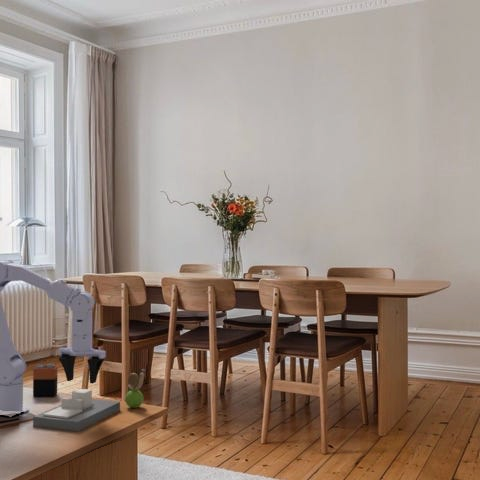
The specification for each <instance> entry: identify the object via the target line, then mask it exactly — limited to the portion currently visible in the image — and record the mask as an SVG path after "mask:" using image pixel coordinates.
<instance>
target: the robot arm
mask: <svg viewBox="0 0 480 480" xmlns="http://www.w3.org/2000/svg"><path fill="white" fill-rule="evenodd" d="M12 281H22V282H24V283H26V284H29V285H31V286H34V287H36V288H38V289H40V290H43V291H44V292H46V294H47V297H48V298H49V299H51V300H53V301H55V302H57V303H59V304H62V305H63V306H65V307H67V308H69V309H70V310H71V312H72V313H71V316H72V317H71V347H59V348H58V350H57V351H58V353H57V354H58V356H59V357H58V360H59V362H60V364H61V366H62V367H63V371H64V373H65V378H66V381H67V382H71V381H74V373H75V371H74V369H75V363H76V362H75V361H76V357H83V358H89V359H87V365H88V370H89V384H94V383H96V382H97V378H98V375H99V371H100V369H101V366H102V365H103V363H104V361H105V359H106V358H107V357H106V354H107V353H106V350H101V349H95V348H93V308H94V306H95V297H94V296H93V295H92V294H91V293H90V292H88V291H86V290H85V291H82V288H79V287H77V288H76V287H74V286H71V285H69V284H68V283H67V280H65V279H62V280H61V279H54V280H50V279H48V278H47V277H44V276H43V275H41V274H39V273H37V272H35V271H34V270H32V269H30V268H28V267H26V266H24V265H22V264H20V263H17V262H14V261H12V260H10V259H3V260H0V294H1V293H2V291H3V290H4V288H5V287H6V286H7V285H8V284H9V283H10V282H12ZM26 370H27V364H26V362H25V359H23V357H22V356H21V355H20V351H19V350H18V349H17V347H15V345H14V342H13V338H12V334H11V330H10V327H9V323H8V320H7V317H6V314H5V310H4V307H3V303H2V299H1V298H0V410H2V411H25V412H24V413H27V412H29V411H30V408H25V407H24V405H23V404H24V378H23V375H24V374H25V372H26Z"/></svg>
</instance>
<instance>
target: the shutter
mask: <svg viewBox="0 0 480 480" xmlns="http://www.w3.org/2000/svg"><path fill="white" fill-rule="evenodd" d="M60 403H61V404H60V405H61V407H58V408H56V409H54V410H51V411H49V412H47V413H44V414H43V416H49V417H57V418H66V419H68V418H70V417H72V416H74V415H76V414H78V413H81V412H83V410H82V409H83V400H79V399H72V398H69V397H68V398H67V397H63V398H61V402H60Z"/></svg>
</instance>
